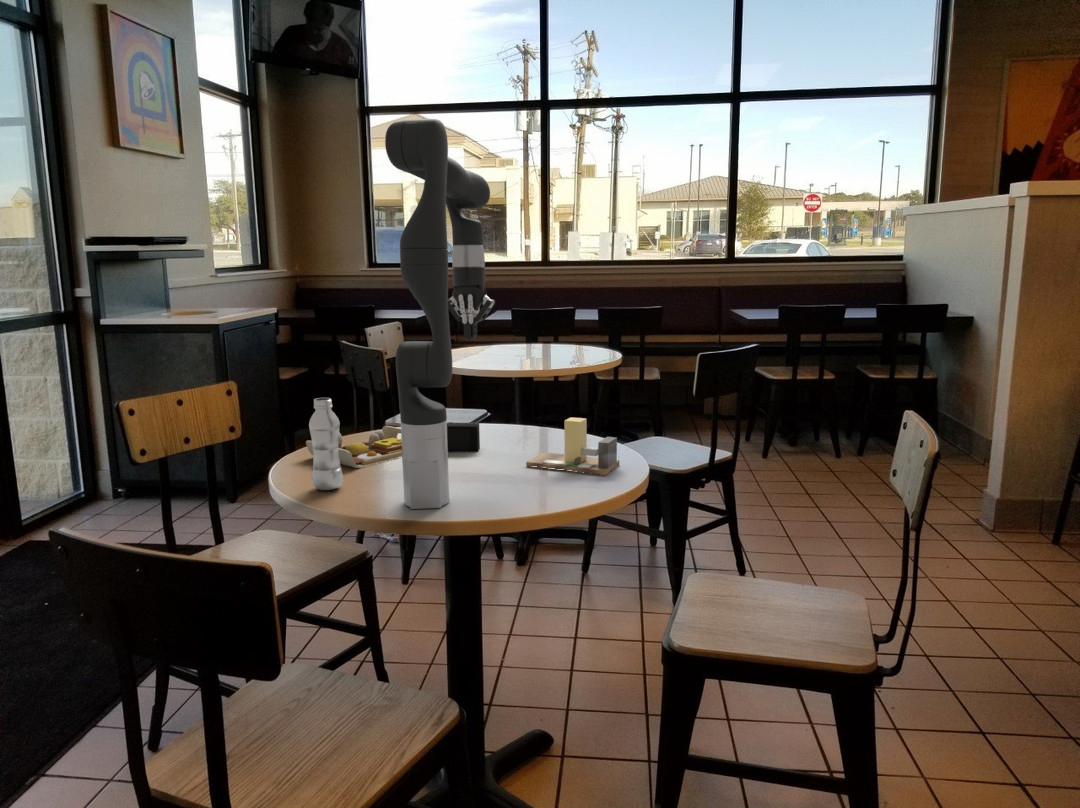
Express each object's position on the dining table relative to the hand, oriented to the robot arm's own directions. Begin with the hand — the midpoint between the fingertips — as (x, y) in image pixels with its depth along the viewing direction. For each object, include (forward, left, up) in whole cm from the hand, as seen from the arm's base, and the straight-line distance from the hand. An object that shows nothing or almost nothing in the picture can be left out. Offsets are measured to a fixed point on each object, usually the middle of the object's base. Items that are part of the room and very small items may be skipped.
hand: (470, 339), depth 187 cm
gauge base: (-6, -23, -30) cm, 39 cm away
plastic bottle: (-18, +32, -30) cm, 48 cm away
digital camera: (+14, +4, -31) cm, 34 cm away
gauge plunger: (-8, -25, -29) cm, 39 cm away
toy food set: (+11, +27, -31) cm, 42 cm away
